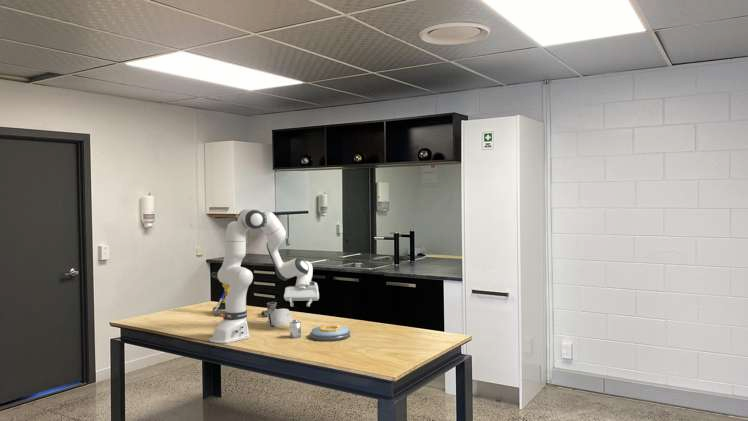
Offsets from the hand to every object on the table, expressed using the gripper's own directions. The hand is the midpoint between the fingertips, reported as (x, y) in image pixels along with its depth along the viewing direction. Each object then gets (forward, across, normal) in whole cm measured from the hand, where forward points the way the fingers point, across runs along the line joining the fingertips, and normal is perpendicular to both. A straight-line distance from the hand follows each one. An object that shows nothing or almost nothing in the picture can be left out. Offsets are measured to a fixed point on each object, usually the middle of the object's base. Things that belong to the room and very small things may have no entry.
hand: (299, 306), depth 312 cm
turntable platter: (+16, +19, +1) cm, 25 cm away
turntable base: (+18, +19, +3) cm, 26 cm away
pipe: (-20, -30, +41) cm, 54 cm away
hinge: (-4, -17, +25) cm, 30 cm away
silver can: (+19, 0, +2) cm, 19 cm away
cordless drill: (-26, -62, +47) cm, 82 cm away
